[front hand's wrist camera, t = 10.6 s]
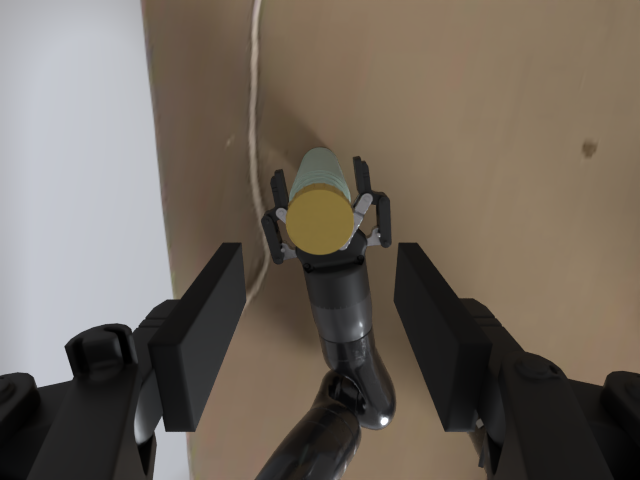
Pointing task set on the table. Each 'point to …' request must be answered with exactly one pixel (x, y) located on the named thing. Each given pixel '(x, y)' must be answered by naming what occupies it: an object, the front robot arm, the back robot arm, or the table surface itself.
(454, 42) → the table surface
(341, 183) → the bottle
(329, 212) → the cap
